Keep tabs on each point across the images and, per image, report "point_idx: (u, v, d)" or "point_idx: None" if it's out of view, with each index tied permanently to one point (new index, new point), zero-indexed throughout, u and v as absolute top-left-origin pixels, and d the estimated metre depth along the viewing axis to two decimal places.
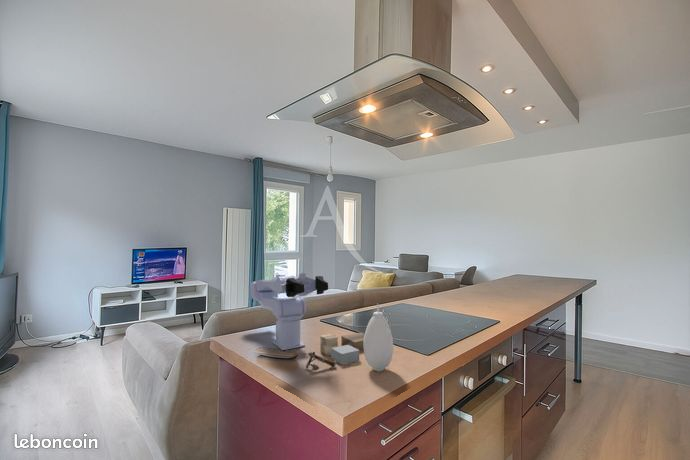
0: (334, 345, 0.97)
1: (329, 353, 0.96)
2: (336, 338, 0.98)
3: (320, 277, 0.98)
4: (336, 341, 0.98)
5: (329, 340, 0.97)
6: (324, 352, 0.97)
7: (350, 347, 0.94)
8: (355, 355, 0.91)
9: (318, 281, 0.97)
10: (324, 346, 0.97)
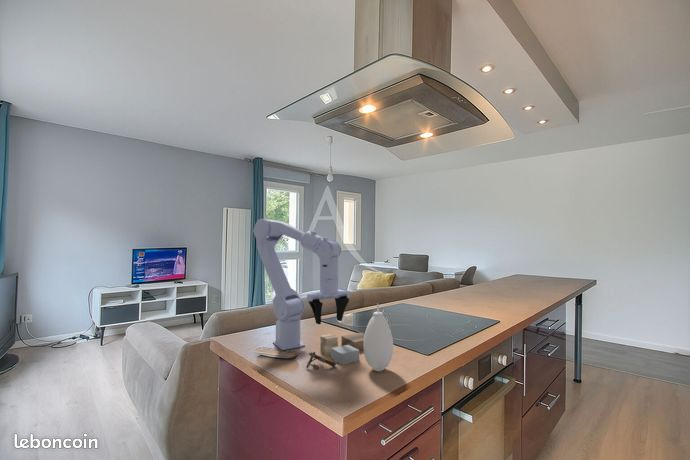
0: (334, 345, 0.97)
1: (329, 353, 0.96)
2: (336, 338, 0.98)
3: (346, 302, 1.00)
4: (336, 341, 0.98)
5: (329, 340, 0.97)
6: (324, 352, 0.97)
7: (350, 347, 0.94)
8: (355, 355, 0.91)
9: (341, 305, 1.00)
10: (324, 346, 0.97)
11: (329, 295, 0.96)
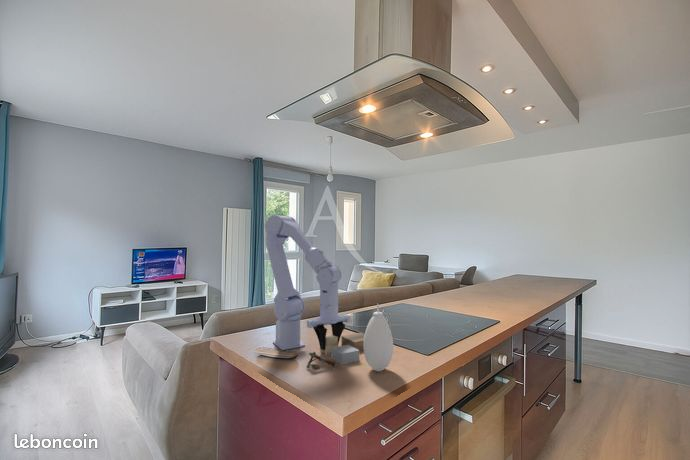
0: (334, 344, 0.97)
1: (329, 353, 0.96)
2: (336, 338, 0.98)
3: (342, 329, 0.99)
4: (336, 341, 0.98)
5: (329, 339, 0.97)
6: (324, 352, 0.97)
7: (350, 347, 0.94)
8: (355, 355, 0.91)
9: (337, 331, 0.99)
10: None
11: (329, 321, 0.96)
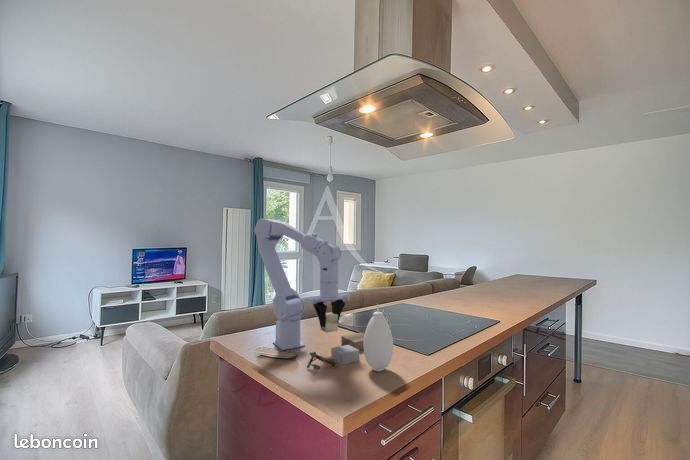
0: (334, 322, 0.98)
1: (329, 330, 0.97)
2: (336, 315, 0.98)
3: (341, 306, 0.99)
4: (336, 318, 0.98)
5: (329, 317, 0.97)
6: (324, 329, 0.97)
7: (350, 347, 0.94)
8: (355, 355, 0.91)
9: (337, 309, 0.99)
10: None
11: (329, 298, 0.96)
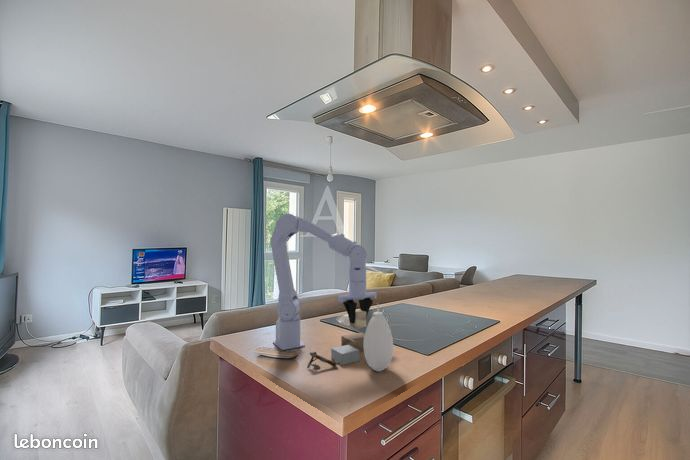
0: (363, 319, 1.03)
1: (359, 326, 1.02)
2: (365, 312, 1.04)
3: (370, 304, 1.05)
4: (365, 315, 1.04)
5: (359, 314, 1.03)
6: (354, 325, 1.03)
7: (350, 347, 0.94)
8: (355, 355, 0.91)
9: (365, 306, 1.05)
10: None
11: (359, 296, 1.02)
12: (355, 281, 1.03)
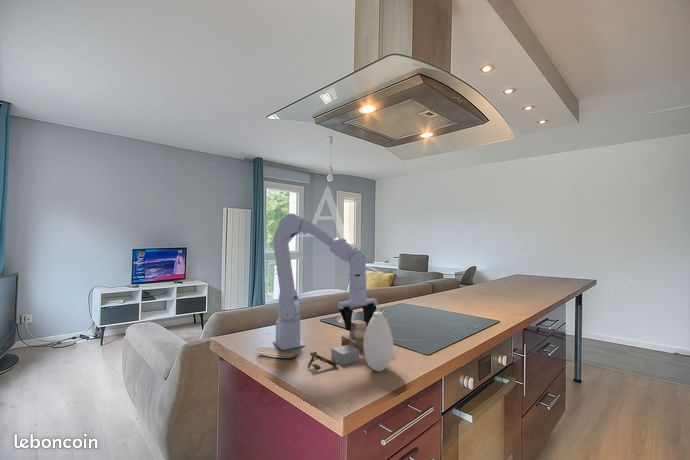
0: (363, 329, 1.03)
1: (358, 337, 1.02)
2: (365, 323, 1.04)
3: (373, 310, 1.05)
4: (365, 326, 1.04)
5: (359, 325, 1.02)
6: (353, 336, 1.03)
7: (350, 347, 0.94)
8: (355, 355, 0.91)
9: (369, 312, 1.06)
10: (353, 331, 1.03)
11: (359, 303, 1.02)
12: (355, 287, 1.03)
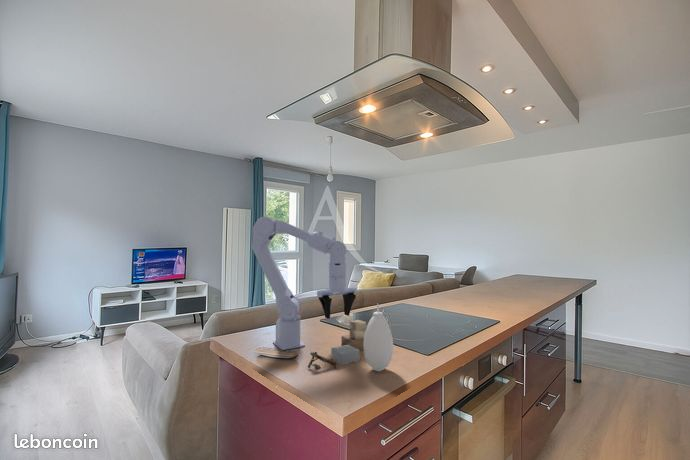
0: (363, 329, 1.03)
1: (358, 337, 1.02)
2: (365, 323, 1.04)
3: (353, 298, 1.07)
4: (365, 326, 1.04)
5: (359, 325, 1.02)
6: (353, 336, 1.03)
7: (350, 347, 0.94)
8: (355, 355, 0.91)
9: (348, 301, 1.07)
10: (353, 331, 1.03)
11: (338, 291, 1.04)
12: (334, 276, 1.04)
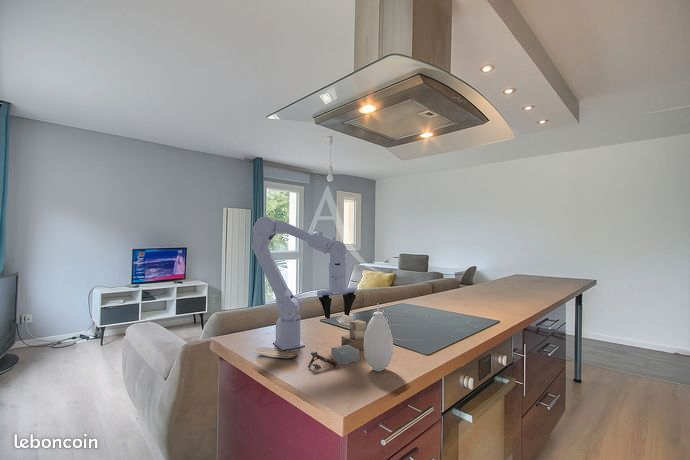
0: (363, 329, 1.03)
1: (358, 337, 1.02)
2: (365, 323, 1.04)
3: (353, 298, 1.07)
4: (365, 326, 1.04)
5: (359, 325, 1.02)
6: (353, 336, 1.03)
7: (350, 347, 0.94)
8: (355, 355, 0.91)
9: (348, 301, 1.07)
10: (353, 331, 1.03)
11: (338, 291, 1.04)
12: (334, 276, 1.04)
